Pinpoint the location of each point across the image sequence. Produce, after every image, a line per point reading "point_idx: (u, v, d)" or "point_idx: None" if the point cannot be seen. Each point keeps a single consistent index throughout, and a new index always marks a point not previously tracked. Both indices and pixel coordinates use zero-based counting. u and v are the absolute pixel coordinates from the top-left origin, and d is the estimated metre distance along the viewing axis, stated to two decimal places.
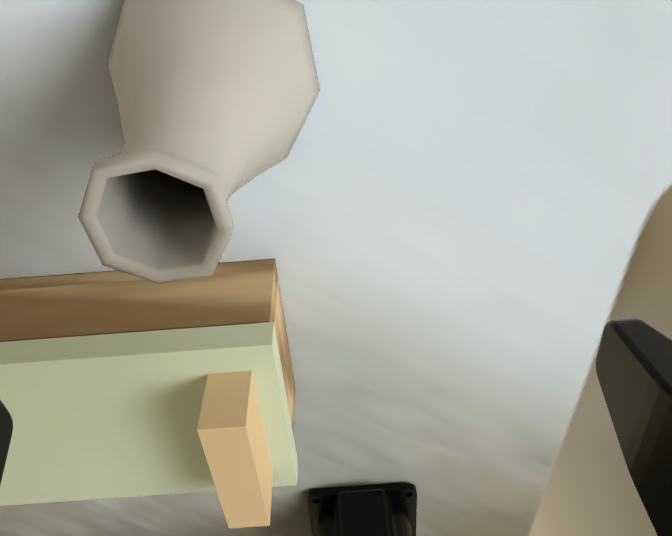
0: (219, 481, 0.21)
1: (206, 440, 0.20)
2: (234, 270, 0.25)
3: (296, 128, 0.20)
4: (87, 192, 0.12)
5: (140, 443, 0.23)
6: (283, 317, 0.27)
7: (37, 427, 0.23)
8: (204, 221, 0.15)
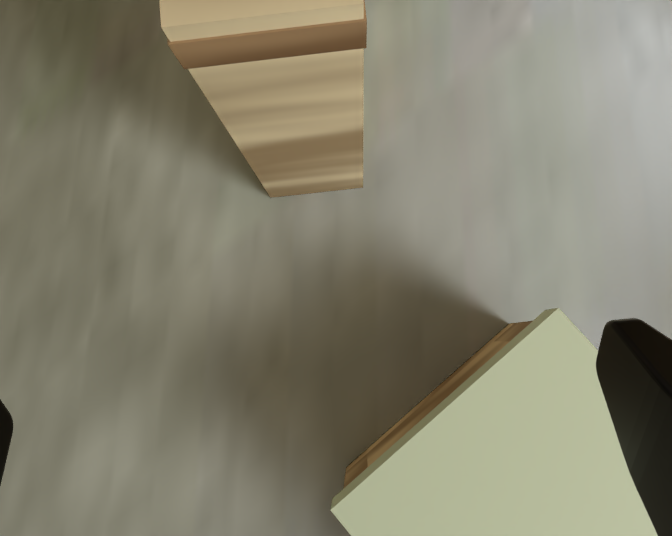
0: None
1: None
2: None
3: None
4: None
5: None
6: None
7: (589, 530, 0.16)
8: None
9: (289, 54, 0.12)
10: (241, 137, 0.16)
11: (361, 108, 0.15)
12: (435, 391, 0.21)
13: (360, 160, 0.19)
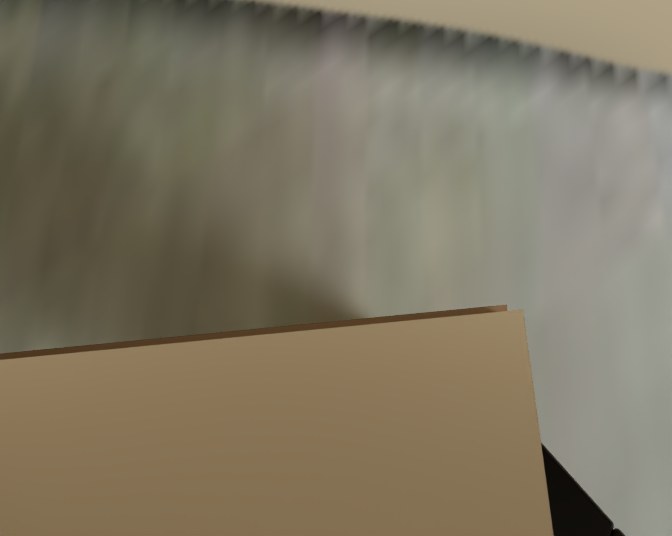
0: None
1: None
2: None
3: None
4: None
5: None
6: None
7: None
8: None
9: None
10: None
11: None
12: None
13: None
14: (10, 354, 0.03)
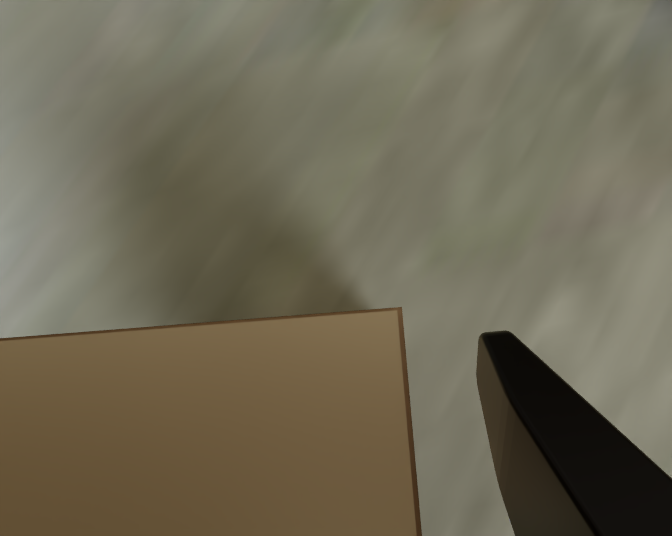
0: None
1: None
2: None
3: None
4: None
5: None
6: None
7: None
8: None
9: None
10: None
11: None
12: None
13: None
14: (55, 335, 0.05)
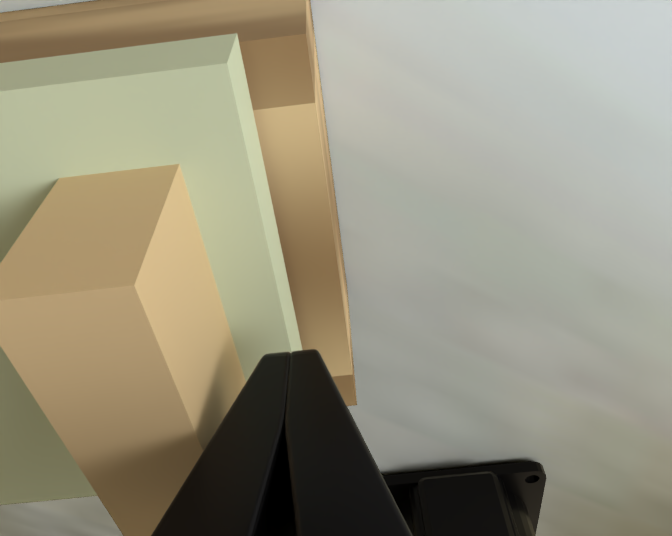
0: (99, 473, 0.07)
1: (18, 343, 0.06)
2: None
3: None
4: None
5: None
6: (326, 128, 0.13)
7: None
8: None
9: None
10: None
11: None
12: None
13: None
14: None
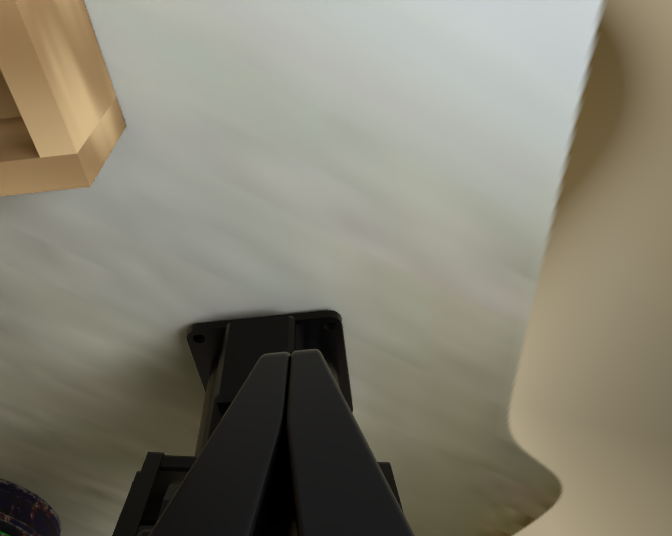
0: None
1: None
2: None
3: None
4: None
5: None
6: None
7: None
8: None
9: None
10: None
11: None
12: None
13: None
14: None
